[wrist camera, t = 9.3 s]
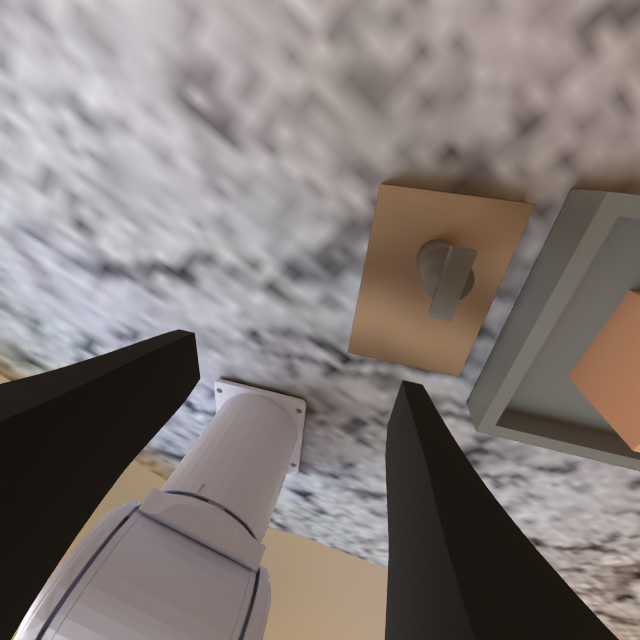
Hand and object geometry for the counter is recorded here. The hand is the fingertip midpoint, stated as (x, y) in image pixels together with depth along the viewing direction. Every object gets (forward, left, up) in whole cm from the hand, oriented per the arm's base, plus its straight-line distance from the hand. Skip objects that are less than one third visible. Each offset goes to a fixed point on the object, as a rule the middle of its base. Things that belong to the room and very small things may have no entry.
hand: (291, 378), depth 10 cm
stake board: (+1, -5, -9) cm, 11 cm away
